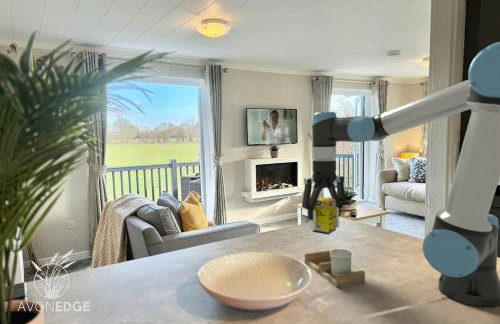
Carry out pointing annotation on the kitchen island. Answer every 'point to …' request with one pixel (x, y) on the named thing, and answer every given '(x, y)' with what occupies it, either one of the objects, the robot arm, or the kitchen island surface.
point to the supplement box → (325, 215)
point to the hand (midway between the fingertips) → (324, 227)
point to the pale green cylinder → (340, 262)
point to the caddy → (323, 267)
